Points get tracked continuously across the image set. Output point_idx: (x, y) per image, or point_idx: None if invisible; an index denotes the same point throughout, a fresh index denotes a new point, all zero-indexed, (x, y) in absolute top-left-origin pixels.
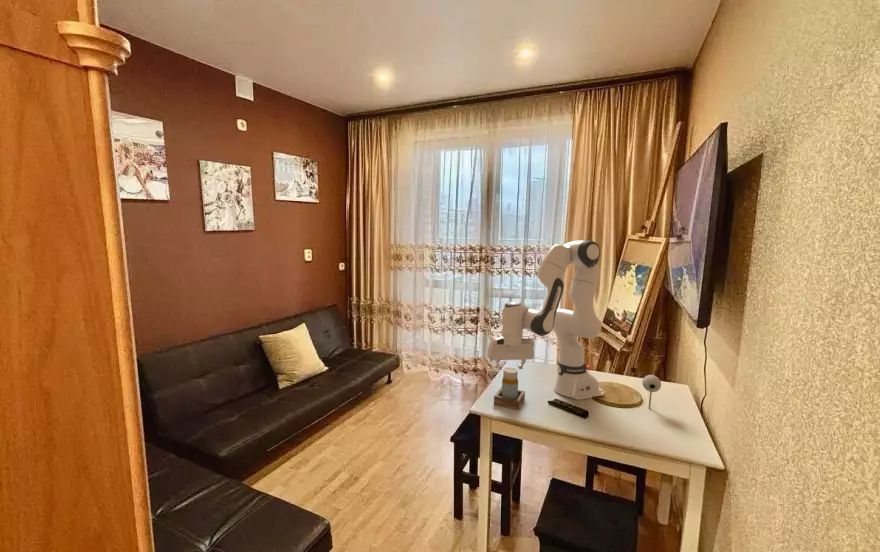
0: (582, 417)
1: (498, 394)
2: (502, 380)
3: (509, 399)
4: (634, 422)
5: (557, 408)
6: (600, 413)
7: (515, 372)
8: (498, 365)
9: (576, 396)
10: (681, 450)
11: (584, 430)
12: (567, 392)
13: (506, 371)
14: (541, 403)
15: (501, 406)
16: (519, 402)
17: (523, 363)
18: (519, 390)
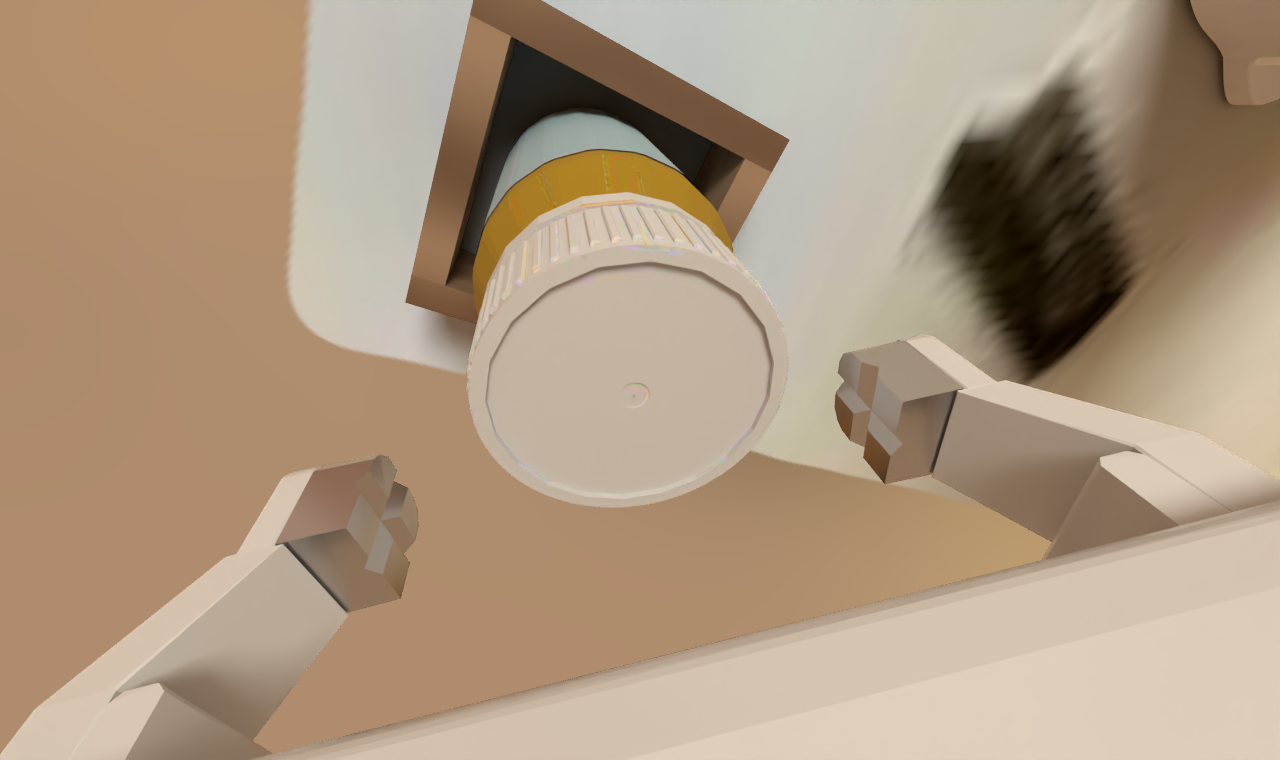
0: (1024, 372)
1: (454, 249)
2: (478, 314)
3: None
4: (1237, 385)
5: (953, 274)
6: (1171, 313)
7: (711, 480)
8: (290, 642)
9: (1270, 76)
10: None
11: (934, 482)
12: (1263, 20)
13: (537, 449)
14: (877, 197)
15: None
16: None
17: (1022, 510)
18: (729, 115)
